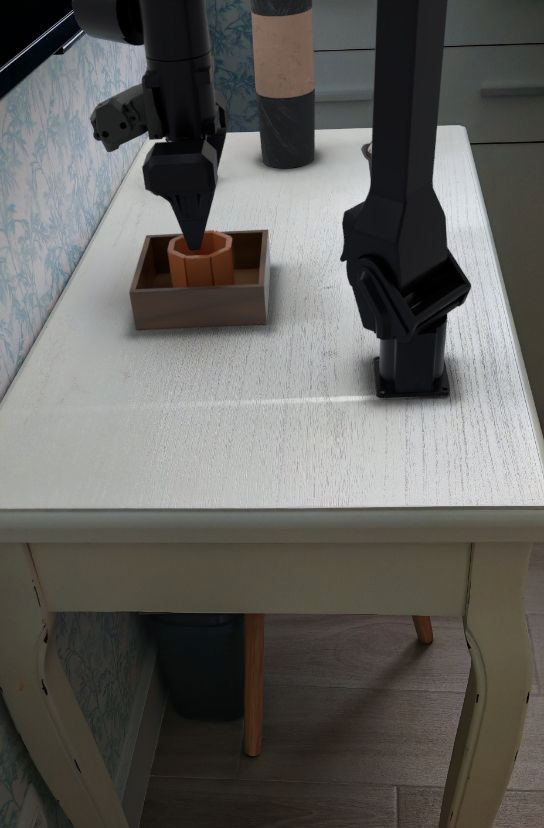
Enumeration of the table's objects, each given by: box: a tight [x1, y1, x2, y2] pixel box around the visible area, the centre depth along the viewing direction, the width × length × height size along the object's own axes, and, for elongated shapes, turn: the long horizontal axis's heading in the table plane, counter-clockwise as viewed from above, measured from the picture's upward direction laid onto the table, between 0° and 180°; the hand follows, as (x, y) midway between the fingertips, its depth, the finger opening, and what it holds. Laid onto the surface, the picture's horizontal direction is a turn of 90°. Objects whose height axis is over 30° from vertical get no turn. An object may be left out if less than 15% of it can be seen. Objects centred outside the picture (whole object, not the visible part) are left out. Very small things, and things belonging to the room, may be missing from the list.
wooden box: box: [128, 229, 272, 331], centre depth 95 cm, size 13×13×4 cm
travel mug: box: [250, 0, 316, 169], centre depth 117 cm, size 8×8×20 cm
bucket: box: [168, 229, 236, 288], centre depth 94 cm, size 6×6×6 cm
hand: (199, 229), depth 91 cm, fingers open, 9 cm apart
